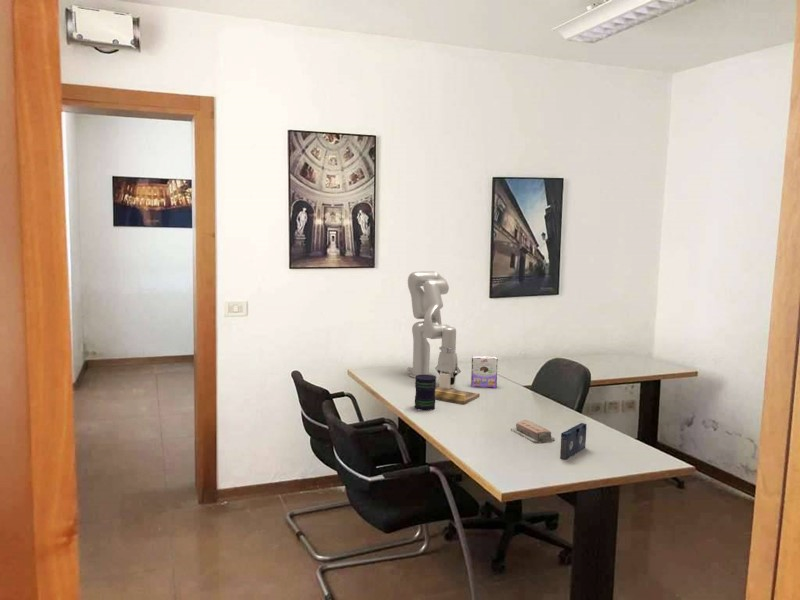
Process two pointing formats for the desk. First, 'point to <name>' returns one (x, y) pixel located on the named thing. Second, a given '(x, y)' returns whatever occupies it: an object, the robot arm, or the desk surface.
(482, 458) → the desk surface
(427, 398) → the storage jar
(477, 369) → the candy box
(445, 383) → the cream carton
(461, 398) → the shelf board
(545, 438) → the packaged product
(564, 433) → the vhs cassette tape
